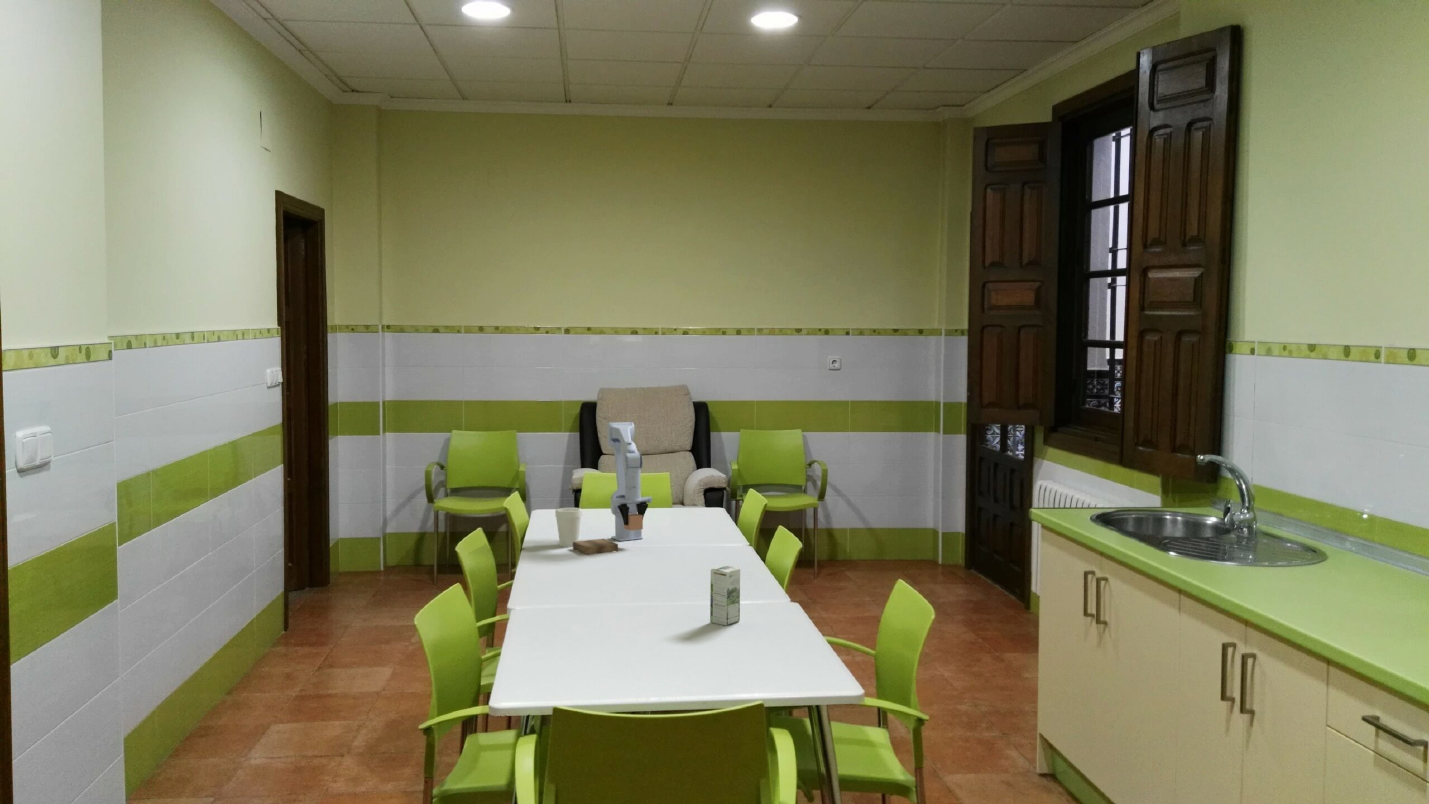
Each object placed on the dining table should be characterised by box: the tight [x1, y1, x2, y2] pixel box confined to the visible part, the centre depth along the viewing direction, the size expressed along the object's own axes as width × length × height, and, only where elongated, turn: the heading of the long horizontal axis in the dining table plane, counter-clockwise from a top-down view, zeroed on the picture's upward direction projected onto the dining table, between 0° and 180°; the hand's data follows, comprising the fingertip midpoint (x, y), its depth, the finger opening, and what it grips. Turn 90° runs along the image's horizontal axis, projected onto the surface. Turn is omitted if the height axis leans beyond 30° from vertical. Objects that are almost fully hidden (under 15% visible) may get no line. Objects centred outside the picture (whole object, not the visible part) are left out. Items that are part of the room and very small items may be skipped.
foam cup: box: [554, 507, 583, 548], centre depth 383 cm, size 10×9×13 cm
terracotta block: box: [624, 512, 644, 531], centre depth 379 cm, size 5×5×5 cm
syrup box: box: [709, 565, 741, 626], centre depth 279 cm, size 6×6×14 cm
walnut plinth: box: [572, 538, 619, 556], centre depth 375 cm, size 12×12×3 cm
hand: (633, 524), depth 379 cm, fingers closed on terracotta block, 5 cm apart
